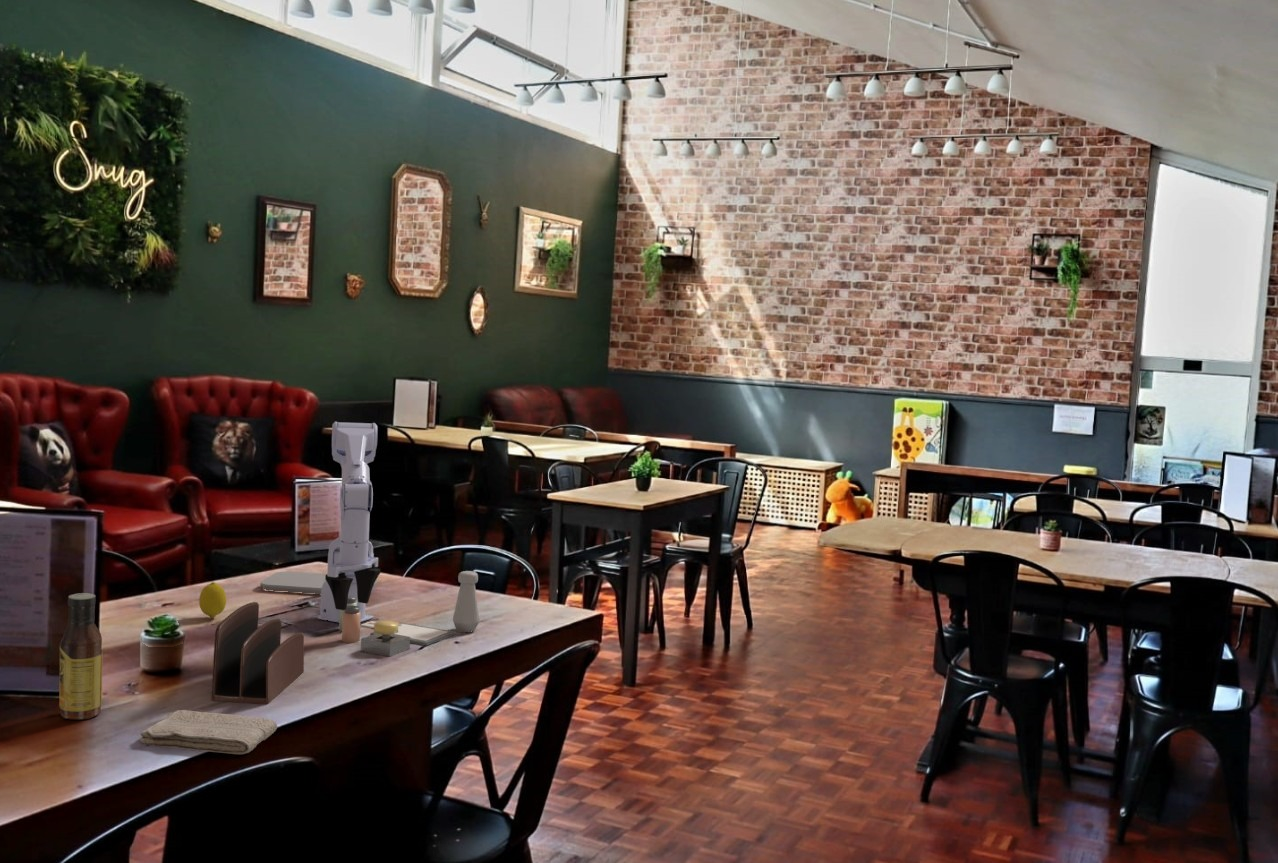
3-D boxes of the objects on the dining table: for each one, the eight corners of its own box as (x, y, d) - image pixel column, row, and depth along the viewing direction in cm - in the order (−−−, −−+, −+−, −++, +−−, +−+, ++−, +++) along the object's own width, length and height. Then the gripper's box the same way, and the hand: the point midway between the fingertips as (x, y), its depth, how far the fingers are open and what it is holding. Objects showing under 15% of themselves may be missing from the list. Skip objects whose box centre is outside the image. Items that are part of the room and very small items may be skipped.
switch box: (360, 651, 237) (361, 638, 237) (381, 643, 244) (381, 631, 243) (389, 656, 234) (390, 644, 234) (409, 648, 241) (410, 636, 241)
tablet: (362, 600, 283) (362, 590, 283) (256, 593, 284) (256, 583, 284) (380, 586, 299) (380, 577, 299) (279, 579, 300) (279, 570, 300)
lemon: (193, 619, 255) (194, 582, 254) (211, 614, 260) (212, 578, 259) (213, 622, 253) (214, 586, 252) (231, 617, 258) (232, 581, 257)
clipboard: (368, 635, 249) (369, 630, 249) (398, 624, 260) (398, 619, 259) (426, 645, 244) (426, 640, 244) (454, 634, 254) (455, 629, 254)
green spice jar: (335, 629, 252) (336, 597, 252) (345, 626, 256) (347, 594, 255) (349, 632, 251) (350, 600, 250) (359, 628, 254) (360, 597, 254)
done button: (368, 642, 238) (369, 624, 237) (382, 637, 242) (383, 619, 242) (388, 646, 236) (389, 627, 235) (402, 640, 240) (403, 623, 240)
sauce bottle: (68, 708, 193) (70, 589, 192) (107, 709, 194) (110, 591, 192) (51, 721, 187) (54, 598, 185) (92, 722, 187) (95, 600, 186)
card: (360, 625, 257) (360, 624, 257) (371, 622, 261) (371, 620, 260) (379, 629, 255) (379, 627, 255) (390, 625, 259) (390, 623, 259)
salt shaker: (473, 634, 255) (476, 575, 254) (448, 632, 256) (451, 573, 255) (482, 628, 260) (485, 570, 259) (458, 625, 262) (460, 568, 261)
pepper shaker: (338, 641, 244) (339, 607, 243) (348, 637, 247) (350, 604, 246) (352, 643, 242) (353, 610, 242) (363, 640, 246) (364, 607, 245)
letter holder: (210, 702, 201) (212, 621, 200) (252, 669, 221) (254, 596, 220) (268, 705, 201) (270, 624, 200) (304, 673, 221) (307, 599, 220)
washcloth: (172, 723, 191) (173, 704, 190) (280, 732, 189) (280, 714, 189) (135, 748, 179) (135, 728, 178) (249, 758, 177) (249, 738, 177)
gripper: (348, 548, 235) (346, 615, 236) (391, 538, 248) (388, 602, 249) (320, 544, 237) (317, 610, 238) (363, 535, 251) (360, 597, 252)
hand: (352, 606), depth 244 cm, fingers open, 7 cm apart
